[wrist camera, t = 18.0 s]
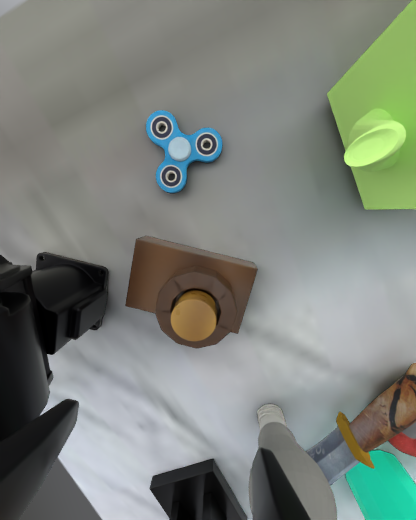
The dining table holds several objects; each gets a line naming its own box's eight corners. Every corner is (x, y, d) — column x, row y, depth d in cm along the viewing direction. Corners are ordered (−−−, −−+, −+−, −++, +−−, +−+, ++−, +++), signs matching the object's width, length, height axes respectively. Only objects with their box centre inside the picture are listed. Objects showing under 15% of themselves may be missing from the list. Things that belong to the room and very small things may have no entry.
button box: (133, 306, 21) (112, 328, 17) (145, 235, 19) (126, 241, 15) (233, 330, 21) (236, 358, 17) (253, 262, 19) (262, 275, 15)
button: (171, 322, 17) (166, 335, 15) (180, 285, 16) (175, 294, 14) (211, 332, 17) (210, 346, 15) (221, 295, 16) (221, 305, 14)
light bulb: (299, 386, 22) (364, 529, 12) (296, 433, 23) (351, 596, 13) (240, 385, 22) (256, 523, 12) (239, 431, 23) (254, 589, 14)
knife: (258, 495, 25) (267, 562, 20) (248, 489, 25) (255, 556, 20) (415, 344, 20) (478, 387, 15) (404, 336, 20) (464, 377, 15)
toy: (120, 140, 16) (125, 145, 17) (169, 198, 17) (171, 200, 18) (180, 83, 16) (182, 92, 17) (229, 144, 16) (228, 149, 17)
